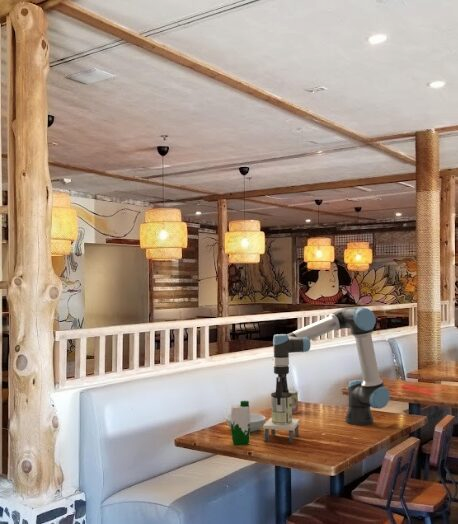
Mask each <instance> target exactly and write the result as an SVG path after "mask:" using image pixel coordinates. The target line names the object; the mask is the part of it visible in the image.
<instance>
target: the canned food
mask: <svg viewBox="0 0 458 524" xmlns="http://www.w3.org/2000/svg"><path fill="white" fill-rule="evenodd" d="M288 390H289V393H292V414H297V413H298V412H299V404H298V403H299V400H298V399H299V398H298V395H299V393H298V392H299V391H298V390H295V389H288Z"/></svg>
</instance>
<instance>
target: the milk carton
mask: <svg viewBox="0 0 458 524" xmlns="http://www.w3.org/2000/svg"><path fill="white" fill-rule="evenodd" d="M249 404H250V401H249V400H240V404H239V403H237V404H231V411H230V415H231V428H230V435H231V441H232V443H233V446H249V445H250V436H251V435H250V434H251V432H250V412H251V411H250V405H249Z"/></svg>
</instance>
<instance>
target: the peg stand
mask: <svg viewBox="0 0 458 524" xmlns="http://www.w3.org/2000/svg"><path fill="white" fill-rule="evenodd" d="M300 420H301V419H300V418H292V423H290V424H274V423H272V417H270V418H269V419H268V420H266V421H265V424H264V425H263V427H262V429H264V442H265V443H269V441H270V436H269V435H273V436H274V435H276V430H278V431H279V430H281V431H288V444H290V445H291V444H292V445H293V444H294V437H299V424H300V422H301V421H300ZM270 430H271V431H270Z"/></svg>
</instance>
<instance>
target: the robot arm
mask: <svg viewBox="0 0 458 524" xmlns="http://www.w3.org/2000/svg"><path fill="white" fill-rule="evenodd" d="M376 323H377V318H376V315H375V313H374V312H373V311H372V310H371V309H369V308H368V307H367V308H366V307H361V306H359V307H358V306H356V307H355V306H354V307H353V306H348V307H344V308H342V309H338V310H336V311H334V312H332V313H329V315H328V316H327V317H325V318H323V319H321V320H318V321H316V322H313V323H311V324H308V325H307V326H306V325H305V326H304V327H302V328H299V329H296V330H295V331H292V332H289V333H287V334H286V333H280V334H278V333H277V334H274V335H273V339H272V344H273V345H272V347H273V348H272V349H273V358H272V361H273V374H275V375H277V376H276V381H275V382H276V384H275V385H276V386H275V392H276V394H275V398H276V408H277V412H282V392H289V390H290V389H289V388H288V380H287V379H288V378H287V375H288V374H289V373H290V366H289V364H290V354H292V353H293V354H294V353H304V352H305V353H306V352H309V351H310V349H311V340H313V339H316V338H318V337H321V336H323V335H325V334H328V333H330V332H332V331H339V330H342V329H350V334H351V336H353V337H354V339H355V344H356V350H357V355H358V360H359V365H360V371H361V377H362V379H354V380H349V381H348V385H347V389H348V390H347V393H348V395H347V399H348V409H347V412H346V415H345V422H346V423H347V424H348V425H349V424H350V425H355V426H356V425H357V426H367V425H368V426H369V425H372V424H374V421H375V420H374V415H373V413H372V410H371V408H373V409H377V410H379V409H383V408H385V407H386V406H387V405H388V403H389V402H390V398H391V393H390V391H389V389H387V387H386V386H384V385H385V384H384V380H383V379H381V378H380V374H379V369H378V363H377V358H376V357H377V356H376V352H375V348H374V341H373V336H372V334H373V333H374V327H376V326H375V325H376Z"/></svg>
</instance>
